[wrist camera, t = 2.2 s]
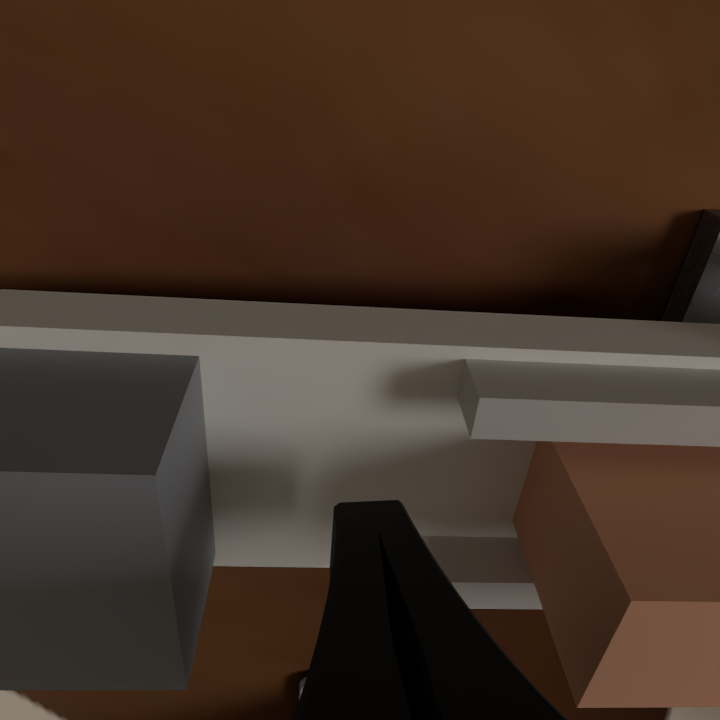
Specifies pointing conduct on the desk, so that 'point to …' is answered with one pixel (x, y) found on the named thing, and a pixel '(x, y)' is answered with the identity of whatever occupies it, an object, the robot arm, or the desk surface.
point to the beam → (285, 452)
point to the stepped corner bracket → (699, 277)
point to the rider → (628, 568)
